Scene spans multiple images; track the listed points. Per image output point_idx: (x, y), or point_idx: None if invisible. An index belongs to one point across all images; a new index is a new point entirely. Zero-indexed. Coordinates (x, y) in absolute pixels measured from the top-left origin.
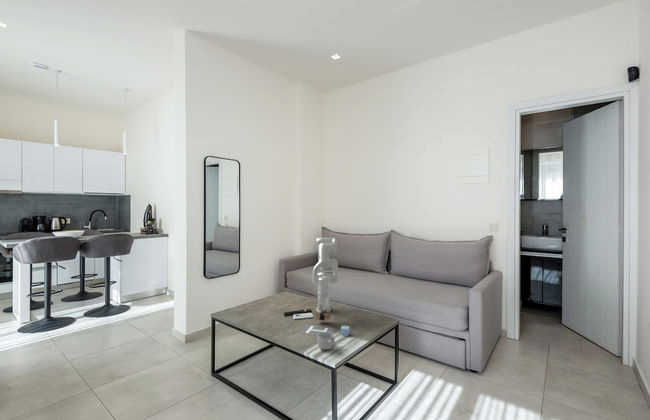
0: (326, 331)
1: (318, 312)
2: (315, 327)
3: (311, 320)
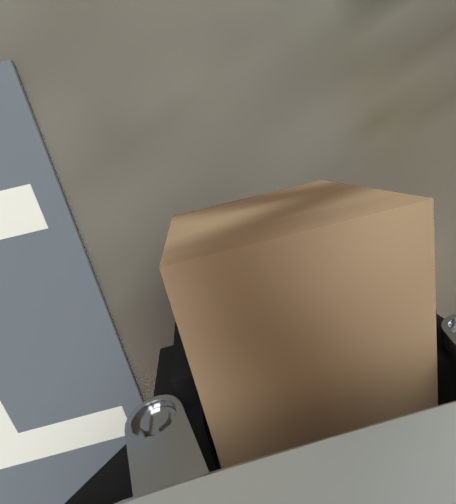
0: (26, 467)
1: (231, 318)
2: (27, 280)
3: (265, 24)
